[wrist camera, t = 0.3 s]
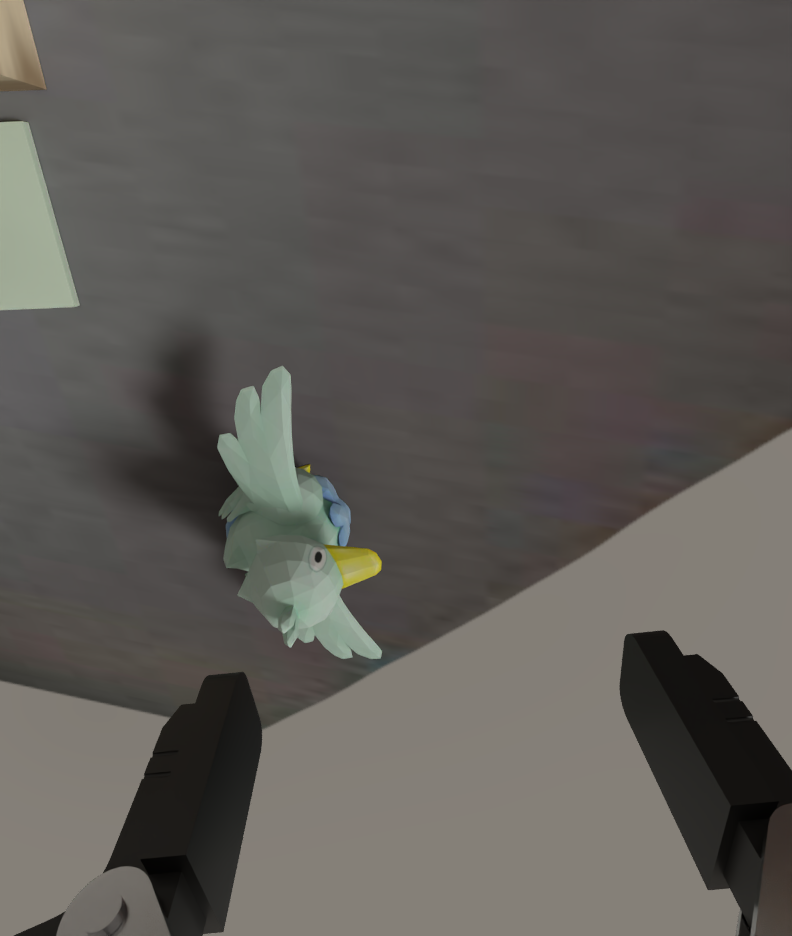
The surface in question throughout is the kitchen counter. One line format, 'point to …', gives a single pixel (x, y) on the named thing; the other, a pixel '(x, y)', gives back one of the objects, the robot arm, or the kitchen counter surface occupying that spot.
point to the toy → (290, 529)
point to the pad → (29, 230)
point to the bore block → (18, 50)
